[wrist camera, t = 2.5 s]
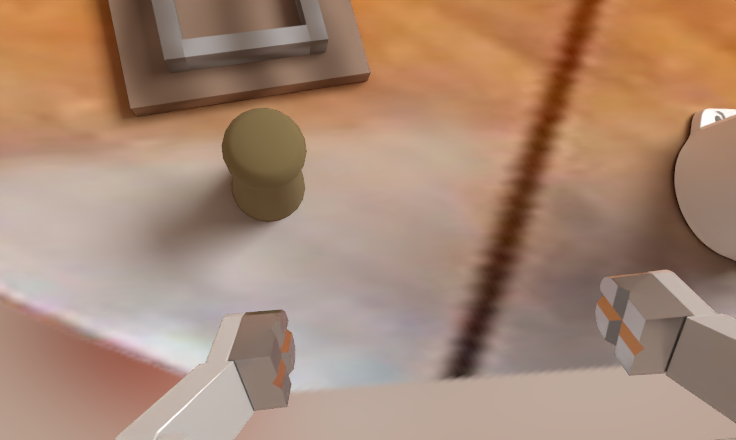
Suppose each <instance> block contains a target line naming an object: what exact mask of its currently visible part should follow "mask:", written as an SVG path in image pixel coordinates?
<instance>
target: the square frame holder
mask: <svg viewBox="0 0 736 440" xmlns="http://www.w3.org/2000/svg"><path fill="white" fill-rule="evenodd" d="M108 2H109V7H110V12H111V16H112V21H113V26H114V31H115V36H116V41H117V46H118V50H119V55H120V60H121V65H122V70H123V75H124V80H125V85H126V89H127V94H128V99H129V104H130V109H131V110H132V111H133V112H134V114H135V115H136V116H143V115H150V114H156V113H163V112H169V111H176V110H182V109H188V108H195V107H201V106H208V105H214V104H221V103H227V102H233V101H240V100H246V99H253V98H259V97H266V96H272V95H279V94H285V93H291V92H298V91H304V90H311V89H317V88H324V87H330V86H336V85H343V84H349V83H356V82H362V81H367V80H368V78H369V75H370V73H371V72H370V68H369V65H368V61H367V58H366V54H365V51H364V47H363V44H362V40H361V37H360V33H359V30H358V26H357V22H356V19H355V15H354V12H353V8H352V5H351V1H350V0H108Z"/></svg>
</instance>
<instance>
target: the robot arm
mask: <svg viewBox="0 0 736 440" xmlns="http://www.w3.org/2000/svg"><path fill="white" fill-rule="evenodd" d="M675 191H676V196H677V200H678V203H679V206H680V209H681V211H682V214H683V216H684V218H685V220H686V222H687V223H688V225H689V226H690V228H691V229H692V231H693V232H694V233H695V235H696V236H697V237H698V238H699V239H700V240H701V241H702V242H703V243H704V244H705V245H706V246H708V247H709V248H710V249H712V250H713V251H715V252H717V253H718V254H720V255H723V256H725V257H727V258H730V259H732V260H734V261H736V109H704V110H701V111H698V112H696V113H695V114H694V116H693V120H692V125H691V133H690V136H689V138H688V140H687V142H686V143H685V145H684V146H683V148H682V149H681V151H680V153H679V156H678V159H677V162H676V167H675ZM600 291H601V292H602V293H603V295H604V296H603V297H602V298H601V299H600V300H599V301H598V302H597V303H596V309H595V317H596V323H597V326H598V328H599V331H600V333H601V334H602V336H603V337H604V339H605V340H607V341H608V342H610V343H612V344H614V345H615V346H616V348H615V352H614V354H615V355H616V357H617V358H618V360H619V361H620V363H621V364H622V366H623V367H624V369H625V370H626V372H627V373H628V375H629V376H630V375H645V374H660V373H666V375H667V376H668V377H670V378H671V379H672V380H674V381H675V382H677V383H678V384H680V385H681V386H683V387H684V388H685V389H687V390H688V391H690V392H691V393H693V394H694V395H696V396H697V397H699V398H700V399H701V400H703V401H704V402H706V403H707V404H709V405H710V406H712V407H713V408H714V409H716V410H717V411H719V412H721V413H722V414H723V415H725V416H726V417H728V418H729V419H730V420H732V421H733V422H735V423H736V318H734V317H731V316H729V315H727V314H717V313H716V312H715V311H714V310H713V309H712V308H710V307H709V306H708V305H707V304H706V303H705V302H704V301H703V300H702V299H701V298H700V297H699V296H698V295H697V294H696V293H695V292H694V291H693V290H692V289H691V288H690V287H688V286H687V285H686V284H685V283H684V282H683V281H682V280H681V279H680V278H679V277H678V276H677V275H676V274H675V273H674V272H672V271H670V270H659V271H650V272H645V273H635V274H626V275H617V276H608V277H604V278H603V280H602V281H601V285H600ZM287 324H288V318H287V315H286V312H285V311H284V310H271V311H259V312H246V313H238V314H227V315H226V316H225V317H224V318H223V320H222V322H221V325H220V327H219V330H218V332H217V335H216V337H215V340H214V342H213V345H212V348H211V350H210V353H209V355H208V358H207V360H206V363H205V364H199V365H198V366H197V367H196V368H195V369H193V370H192V371H191V372H190V373H189V374H188V375H187V376H185V377H184V378H183V379H182V380H181V381H180V382H179V383H177V384H176V385H175V386H174V387H173V388H172V389H171V390H169V391H168V392H167V393H166V394H165V395H164V396H163V397H161V398H160V399H159V400H158V401H157V402H156V403H155V404H153V405H152V406H151V407H150V408H149V409H148V410H146V411H145V412H144V413H143V414H142V415H141V416H140V417H138V418H137V419H136V420H135V421H134V422H133V423H132V424H130V425H129V426H128V427H127V428H126V429H125V430H124V431H122V432H121V433H120V434H119V435H118V436H117V437H116V438H115V440H234V439H235V437H236V436H237V435H238V433H239V432H240V431H241V429H242V428H243V426H244V425H245V424H246V423H247V422H248V420H249V419H250V417H251V416H252V415H253V413H254V411H256V410H265V409H273V408H281V407H287V406H288V400H289V394H290V388H291V382H290V378H289V374H290V373H291V371H292V370H293V369H294V363H295V345H294V339H293V335H292V333H291V332H290V331H288V330H287ZM717 440H718V439H717ZM719 440H736V438H729V439H719Z"/></svg>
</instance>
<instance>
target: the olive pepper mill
mask: <svg viewBox="0 0 736 440" xmlns="http://www.w3.org/2000/svg"><path fill="white" fill-rule="evenodd" d="M306 152H307V151H306V144H305V138H304V136H303V134H302V132H301V130H300V128H299V127H298V125H297V124H296V123H295V122H294V121H293V120H292V119H291V118H290V117H289V116H287V115H285V114H283V113H282V112H280V111H277V110H273V109H268V108H258V109H252V110H249V111H246V112H244V113H241V114H240V115H239V116H238V117H236V118H235V119H234V120H232V122H231V123H230V125H229V126H228V128H227V129H226V131H225V134H224V138H223V142H222V153H223V159H224V161H225V163H226V165H227V167H228V170H229V172H230V173H231V174H232V175H233V177H232V191H233V197H234V199H235V201H236V203H237V205H238V206H239V207H240V208H241V210H242V211H243V212H244V213H245V214H247V215H249V216H251V217H252V218H254V219H256V220H262V221H267V222H268V221H277V220H281V219H283V218H285V217H287V216H289V215H291V214H292V213H293V212H294V211H295V210H296V209H297V208H298V207H299V205H300V203H301V201H302V200H303V196H304V191H305V185H304V178H303V174H302V171H301V169H302V168H303V166H304V162H305V157H306Z"/></svg>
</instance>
